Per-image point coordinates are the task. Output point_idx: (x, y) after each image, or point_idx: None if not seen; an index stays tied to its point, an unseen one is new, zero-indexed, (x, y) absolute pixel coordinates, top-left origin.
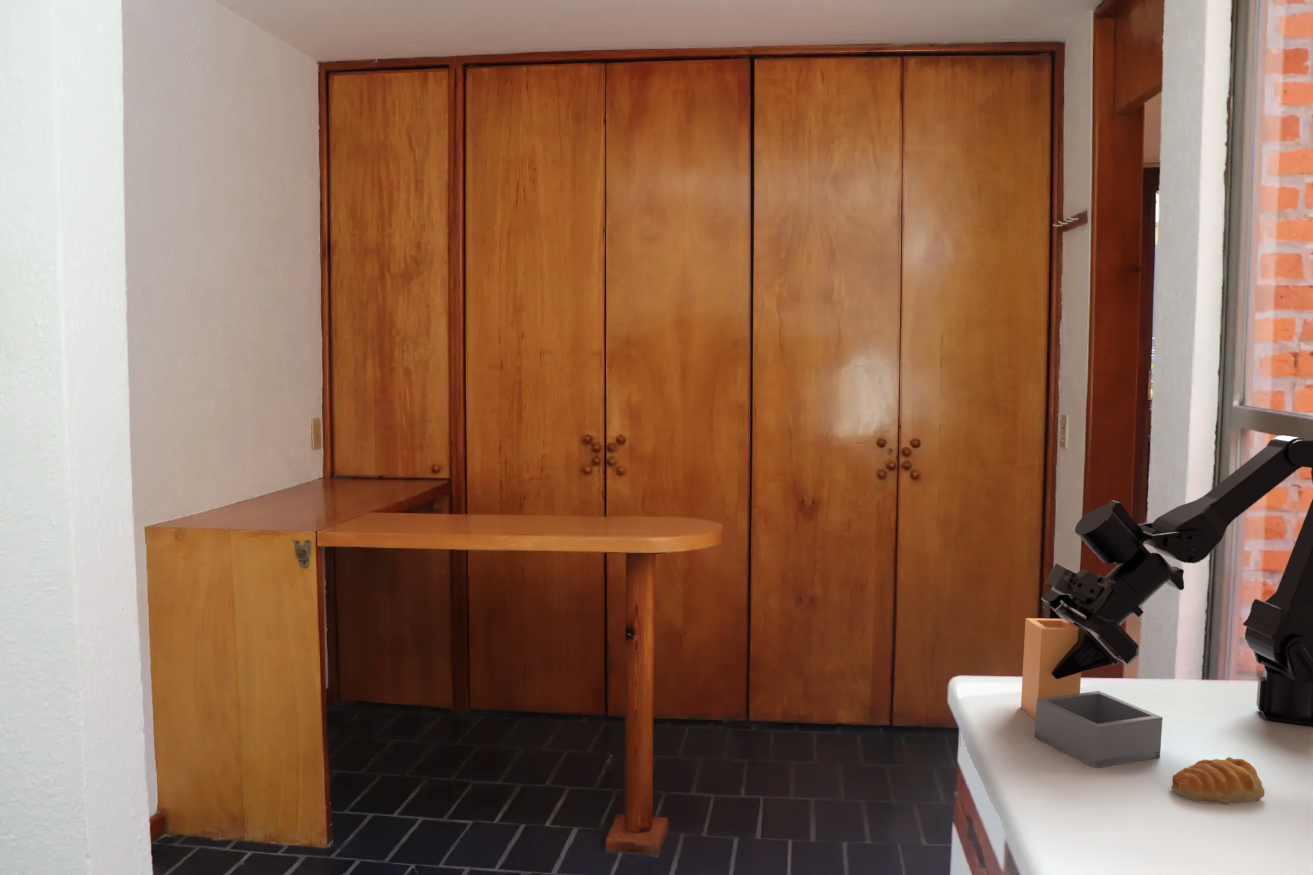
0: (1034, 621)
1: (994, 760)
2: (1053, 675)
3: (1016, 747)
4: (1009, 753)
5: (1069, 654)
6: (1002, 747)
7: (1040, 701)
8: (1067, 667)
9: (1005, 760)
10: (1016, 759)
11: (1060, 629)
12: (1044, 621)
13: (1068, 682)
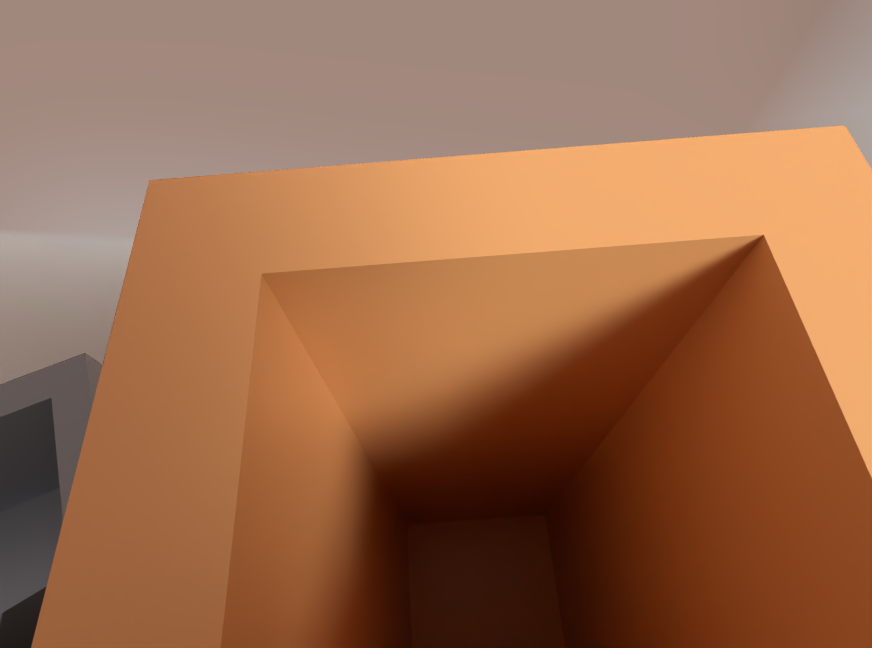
0: (660, 200)
1: (18, 238)
2: None
3: (102, 328)
4: (58, 293)
5: (26, 620)
6: (112, 284)
7: (58, 367)
8: None
9: (8, 267)
10: (4, 301)
11: (69, 502)
12: (823, 408)
13: None
